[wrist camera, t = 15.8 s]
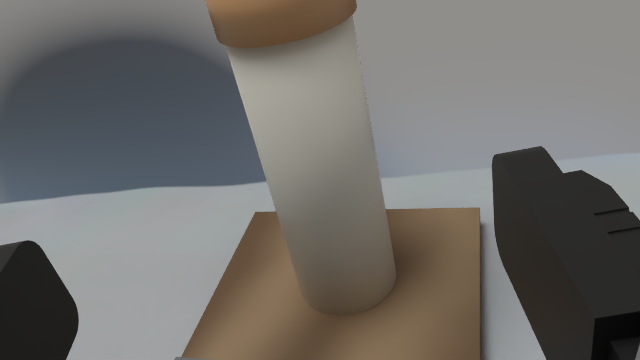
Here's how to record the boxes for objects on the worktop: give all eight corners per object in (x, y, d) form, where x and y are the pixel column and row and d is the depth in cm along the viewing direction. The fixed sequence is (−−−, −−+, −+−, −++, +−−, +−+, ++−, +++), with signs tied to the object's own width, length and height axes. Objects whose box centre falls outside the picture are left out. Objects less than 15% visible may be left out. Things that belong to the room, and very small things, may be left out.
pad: (187, 376, 24) (178, 361, 23) (260, 225, 31) (255, 211, 31) (481, 399, 20) (479, 382, 19) (480, 223, 28) (479, 207, 27)
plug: (283, 316, 24) (172, -9, 16) (309, 242, 28) (229, -50, 20) (394, 321, 23) (327, -34, 15) (406, 242, 26) (358, -72, 19)
